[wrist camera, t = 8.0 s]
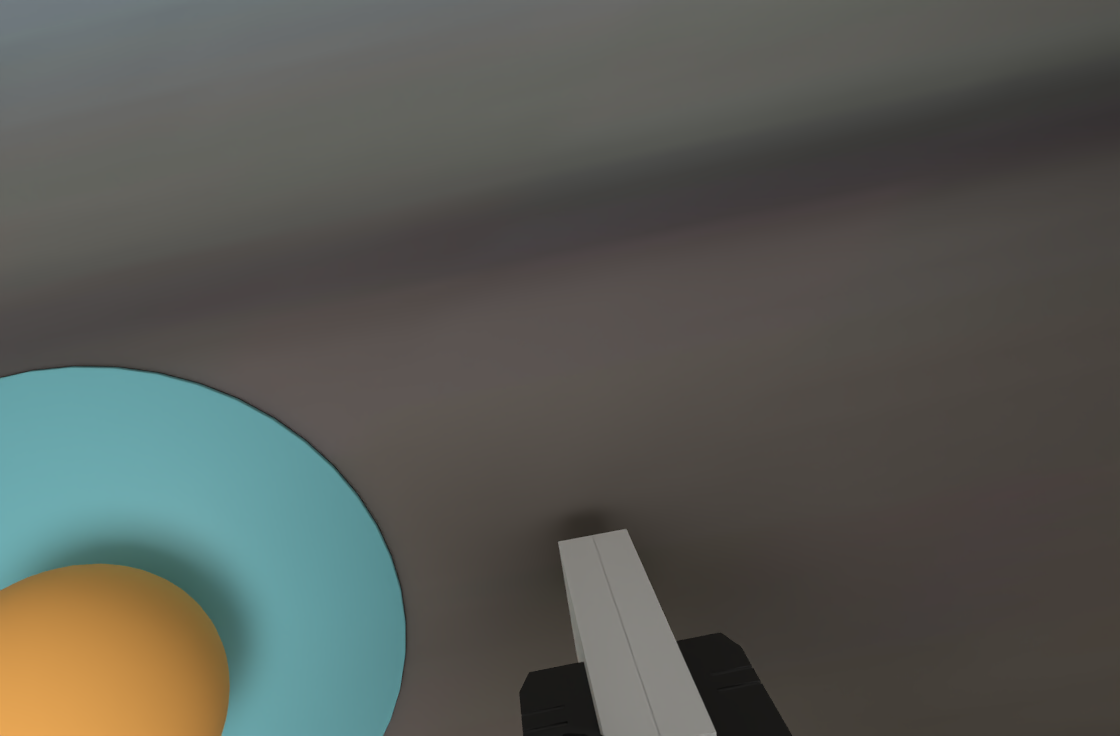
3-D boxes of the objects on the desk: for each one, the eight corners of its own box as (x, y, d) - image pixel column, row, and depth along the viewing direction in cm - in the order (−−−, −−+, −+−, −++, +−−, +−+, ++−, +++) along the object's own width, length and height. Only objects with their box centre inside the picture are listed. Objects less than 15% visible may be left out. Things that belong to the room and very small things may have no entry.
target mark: (342, 319, 17) (340, 321, 17) (450, 816, 20) (450, 822, 20) (-293, 424, 16) (-302, 426, 16) (-78, 926, 20) (-84, 933, 19)
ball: (-4, 534, 18) (236, 503, 18) (69, 742, 19) (292, 715, 19) (-247, 695, 12) (93, 652, 12) (-122, 966, 14) (186, 932, 14)
